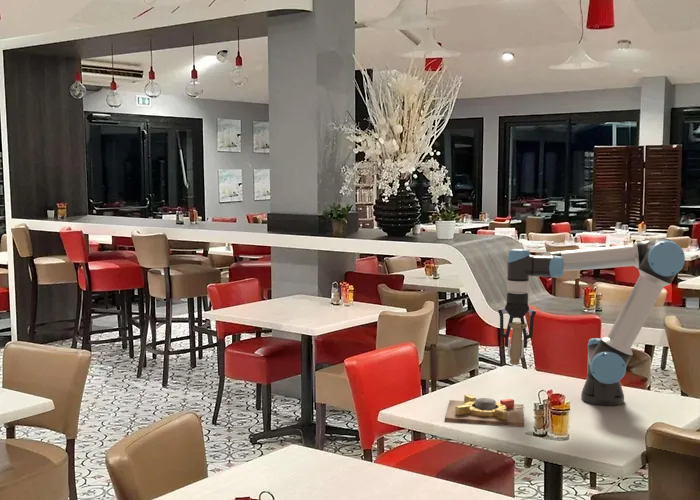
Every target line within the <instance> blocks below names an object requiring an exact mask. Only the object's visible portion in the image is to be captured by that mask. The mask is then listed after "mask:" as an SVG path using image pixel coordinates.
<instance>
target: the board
mask: <svg viewBox="0 0 700 500" xmlns="http://www.w3.org/2000/svg"><path fill="white" fill-rule="evenodd" d="M496 402H497V401H496V400H495V399H493V398H489V397H478V398H476V400H475V408H477V409H483V410H492V409H496ZM464 404H465V402H464V400H455V399H450V400H449V402H448V405H447V407H446V413H445V415H444V422H449V421H452V422H451V423H453V422H454V423H463V422H464V424H465V423H466V424H481V425H493V426H494V425H496V426H509V427H521V428H522V427H525V417H524V416H525V413H524V408H525V407H524V404H519V403H517V404H516V403H514V408H507V409H506V411H508V419H506V420H502V419H499V418H497V417H495V416H493V417H489V416H477V415H472V414H463V415H457V414H455V407H456V406H460V405H464Z"/></svg>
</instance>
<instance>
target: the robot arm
mask: <svg viewBox="0 0 700 500" xmlns="http://www.w3.org/2000/svg"><path fill="white" fill-rule="evenodd" d="M507 254H508V255H507V278H506V279H507V281H506V284H507V285H506V291H507V293H506V304H505V306H504V307H502V308H498V310H497V311H498V314H499V336H500V337H501V338H504V347H505V348H507V358H510V347H511V337H510V334H511V333H510V332H511V329H512V328H511V327H510V326H509V323H512V322H514V319H516V318H517V319H519V320H520V322H521V324H525V323H526V322H525V316H526V315H527V313H528V314H529V326H528V327H529V329H528V333H527V327H526V328H524V329H522V349H521V356H520V359H521V358H524V356H525V355H524V354H525V353H524V351H525V349H527V348H528V340H529V339H532V338H533V335H534V321H535V316H536V314H537V313H536V312H537V311H536V309H532V308H530V307H529V293H528V292H529V285H530V284H529V283H530V282H529V277H543V278H552V279H553V278H562V277H563V276H564V273H565V272H569V271H570V272H571V271H572V272H573V271H582V270H583V271H585V270H587V271H588V270H597V269H611V268H622V267H623V268H625V267H635V268H636V269H637V270H638V273H639V276H638V277H637V280H636V282H635V284H634V286H633V288H632V290H631V291H630V293H629V296H628V297H627V299H626V300H625V303H624V305H623V306H622V308H621V310H620V312H619V313H618V316H617V318H616V320H615V322H614V323H613V326H612V327H611V329H610V331H609V333H608V335H607V336H603V337H601V338H600V337H595V338H593V337H592V338H590V339H589V340H588V343H587V368H586V370H587V371H586V380H585V382H584V385H583V388H582V390H581V395H580V396H581V397H580V398H581V400H582V401H583V402H586V403H588V404H593V405H597V406H606V407H607V406H612V407H613V406H619V405H618V404H620V405H622V403H623V402H624V403H625V394H624V390H623V388H622V384H621V380H622V379H623V378H624V376H625V375H626V372H627V367H628V364H629V361H630V360H631V358H632V356H633V354H634V353H633V351H632V347H633V344H634V343H635V341H636V339H637V337H638V335H639V334H640V332H641V330H642V328H643V327H644V324H645V322H646V320H647V319H648V317H649V315H650V313H651V311H652V309H653V307H654V306H655V304H656V302H657V300H658V298H659V296H660V295H661V293H662V290H664V289H663V288H664V287H666V286H670V285H671V284H672V282H673V280H674V278H675V277H676V275H677V274H679V272H680V271H682V269H683V267H684V266H685V262H686V256H685V253H684V250H683V248H682V246H681V245H679V243H677V242H675V241H673V240H671V239H669V238H664V237H658V238H651V239H648V240H642V241H641V240H640V241H635V242H633V243H632V244H629V245H628V244H627V245H618V246H605V247H596V248H595V247H594V248H584V249H573V250H571V249H570V250H569V249H568V250H561V251H543V252H541V253H540V254H538V255H534V254H531V252H530V249H526V248H511V249H510V250H508V253H507ZM505 312H507V314H508V316H509V318H508V323H507V327H506V331H505V333H504V315H505ZM624 403H623V404H624Z"/></svg>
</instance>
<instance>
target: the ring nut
mask: <svg viewBox="0 0 700 500" xmlns="http://www.w3.org/2000/svg"><path fill="white" fill-rule="evenodd" d="M476 399H477V397H476V396H473V395H471V394H464V397H463V401H464V402H465V404H464V405H460V406H456V407H455V414H457V415H463V414H472V415H477V416H489V417H493V416H495V417H497V418H499V419H502V420H506V419H508V411H506V409H507V408H514V404H515V400H514V399H512V398H507V399H500V401H496V409H492V410H483V409H477V408H475V400H476Z"/></svg>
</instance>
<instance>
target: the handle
mask: <svg viewBox="0 0 700 500" xmlns="http://www.w3.org/2000/svg"><path fill="white" fill-rule="evenodd" d="M509 326H510V327H511V329H512V335H511V339H510V357H509V359H510V360H509V364H511V365H512V366H513V365H514V366H518V365H519V364H520V363H521V362H520V359H521V349H522V338H523V330H522V329H524V328H526V329H527V327H528V323H526V322H525V324H521V321H512V323H509Z"/></svg>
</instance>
